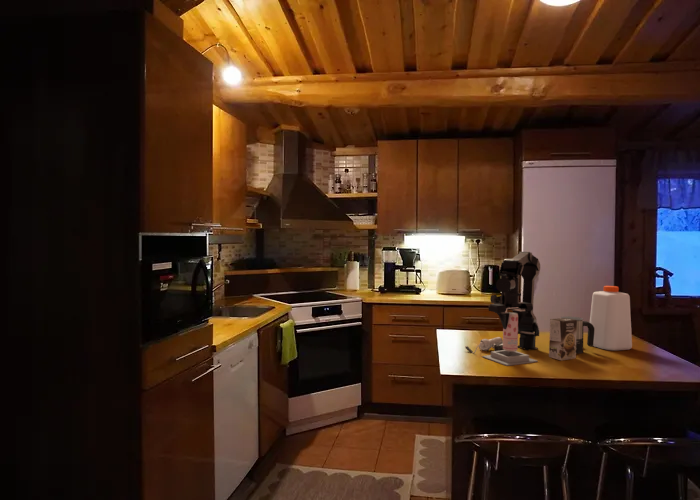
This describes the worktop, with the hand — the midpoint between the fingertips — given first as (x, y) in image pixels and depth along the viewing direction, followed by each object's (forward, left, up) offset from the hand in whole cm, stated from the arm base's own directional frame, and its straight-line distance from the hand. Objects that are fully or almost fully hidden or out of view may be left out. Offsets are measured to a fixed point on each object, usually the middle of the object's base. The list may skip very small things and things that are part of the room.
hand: (510, 328), depth 188 cm
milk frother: (-39, -3, -13) cm, 41 cm away
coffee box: (-23, +6, -13) cm, 27 cm away
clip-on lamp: (0, -13, -13) cm, 18 cm away
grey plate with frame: (0, 0, -13) cm, 13 cm away
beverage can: (0, 0, -9) cm, 9 cm away
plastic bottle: (-60, 0, -13) cm, 61 cm away
